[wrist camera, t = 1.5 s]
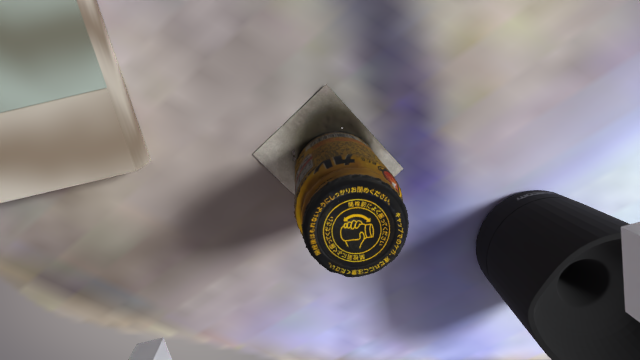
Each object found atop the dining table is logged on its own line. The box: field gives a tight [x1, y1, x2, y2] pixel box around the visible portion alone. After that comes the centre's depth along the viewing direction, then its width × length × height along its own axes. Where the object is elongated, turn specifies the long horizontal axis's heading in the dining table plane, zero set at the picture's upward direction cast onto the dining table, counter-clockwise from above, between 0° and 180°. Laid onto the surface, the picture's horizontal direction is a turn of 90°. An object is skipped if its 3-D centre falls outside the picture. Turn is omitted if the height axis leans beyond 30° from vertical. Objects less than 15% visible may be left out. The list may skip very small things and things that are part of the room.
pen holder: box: [476, 190, 640, 360], centre depth 30 cm, size 9×9×10 cm
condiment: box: [253, 84, 409, 277], centre depth 27 cm, size 7×8×12 cm
